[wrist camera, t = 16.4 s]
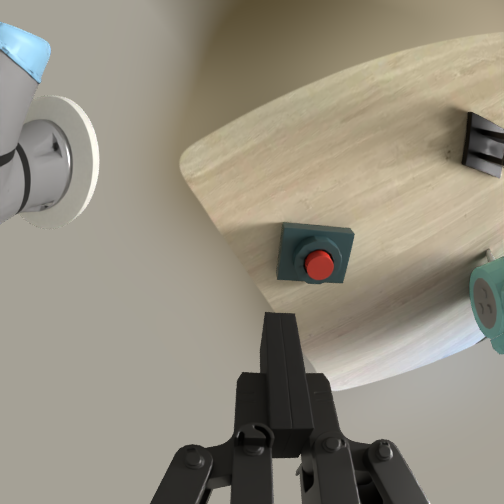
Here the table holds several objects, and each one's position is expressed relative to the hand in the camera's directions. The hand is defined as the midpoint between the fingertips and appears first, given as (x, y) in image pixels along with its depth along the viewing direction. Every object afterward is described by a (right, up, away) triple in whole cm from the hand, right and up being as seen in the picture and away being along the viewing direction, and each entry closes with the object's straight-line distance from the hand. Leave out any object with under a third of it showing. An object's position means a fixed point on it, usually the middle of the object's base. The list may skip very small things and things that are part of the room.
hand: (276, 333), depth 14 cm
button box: (+8, +4, +27) cm, 29 cm away
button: (+8, +3, +24) cm, 25 cm away
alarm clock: (+45, -1, +30) cm, 53 cm away
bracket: (+37, +22, +18) cm, 47 cm away
